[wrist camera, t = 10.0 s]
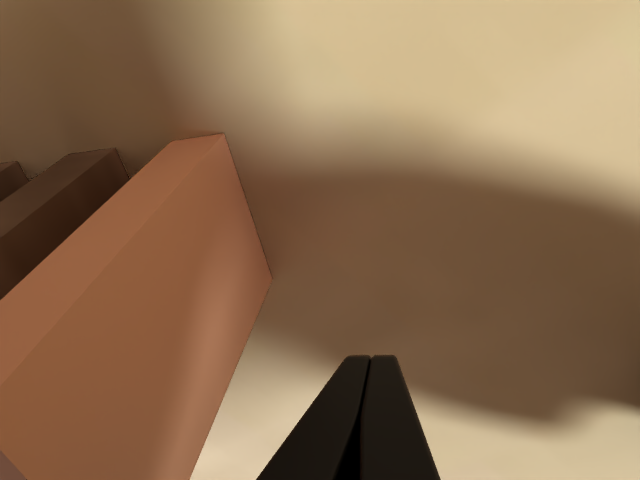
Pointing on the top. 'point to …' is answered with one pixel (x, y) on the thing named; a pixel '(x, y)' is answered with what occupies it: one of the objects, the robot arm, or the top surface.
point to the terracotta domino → (133, 326)
